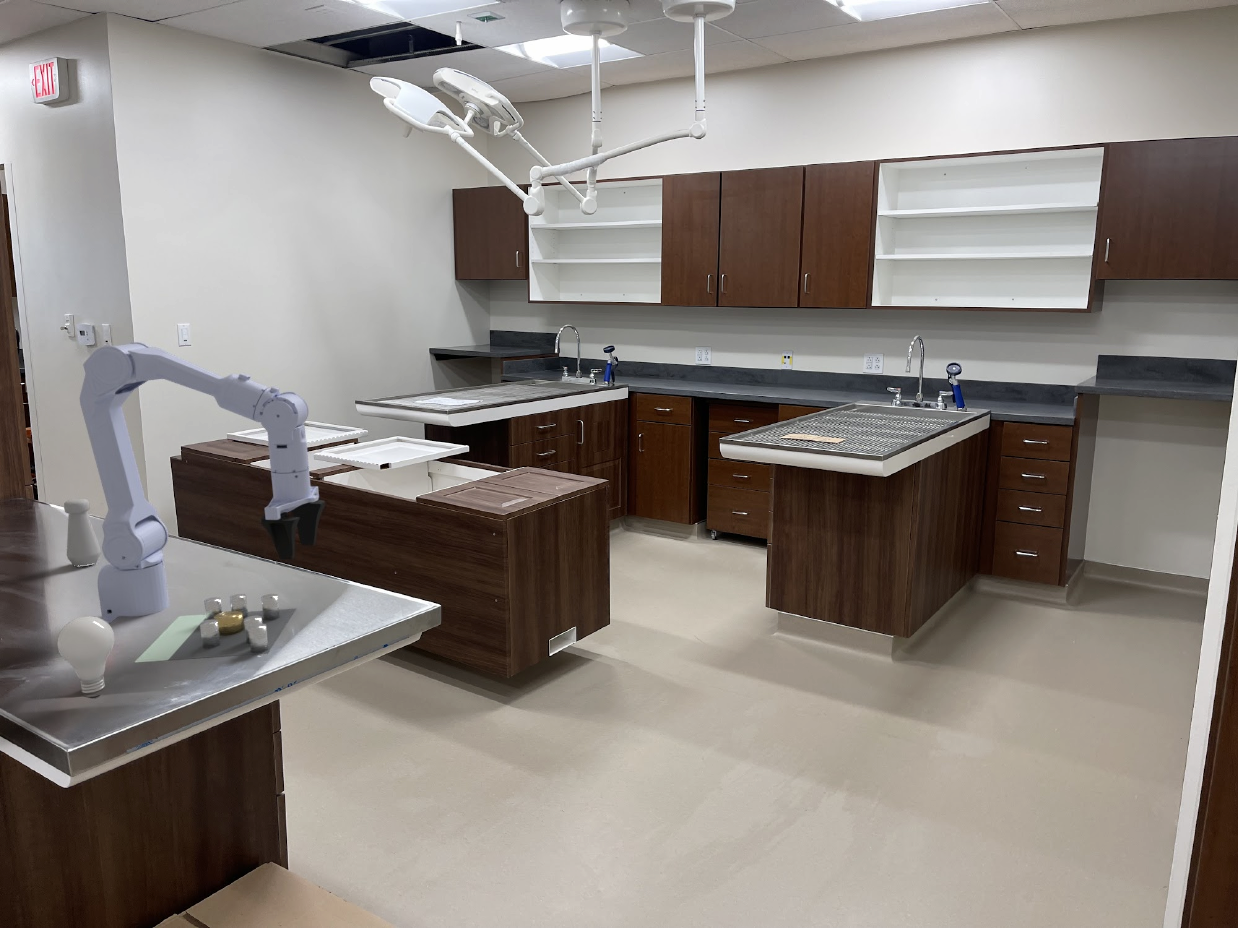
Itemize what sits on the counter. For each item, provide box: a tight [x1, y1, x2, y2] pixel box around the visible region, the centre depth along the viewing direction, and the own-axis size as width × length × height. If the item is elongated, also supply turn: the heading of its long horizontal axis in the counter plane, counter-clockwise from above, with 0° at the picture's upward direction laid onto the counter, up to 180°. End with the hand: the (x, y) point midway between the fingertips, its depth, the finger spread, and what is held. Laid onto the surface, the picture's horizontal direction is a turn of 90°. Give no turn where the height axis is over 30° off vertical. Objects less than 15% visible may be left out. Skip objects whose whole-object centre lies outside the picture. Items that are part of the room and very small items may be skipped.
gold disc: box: [214, 610, 244, 636], centre depth 136 cm, size 4×4×2 cm
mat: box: [133, 608, 297, 664], centre depth 136 cm, size 18×18×1 cm
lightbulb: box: [57, 615, 116, 699], centre depth 117 cm, size 6×6×11 cm
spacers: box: [200, 593, 280, 653], centre depth 135 cm, size 12×16×4 cm
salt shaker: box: [63, 498, 102, 567], centre depth 175 cm, size 6×6×13 cm
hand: (297, 551), depth 146 cm, fingers open, 7 cm apart
